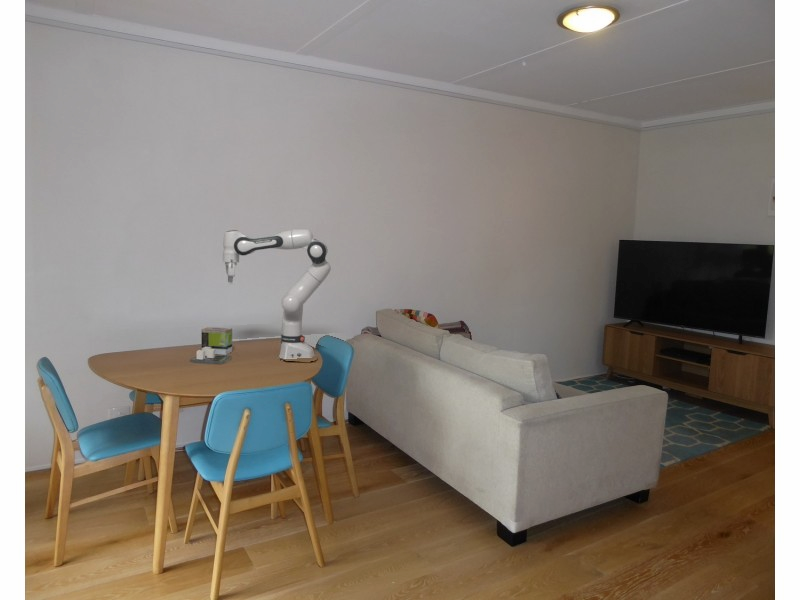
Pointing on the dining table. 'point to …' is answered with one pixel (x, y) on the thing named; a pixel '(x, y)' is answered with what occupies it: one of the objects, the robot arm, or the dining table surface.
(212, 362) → the panel
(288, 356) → the robot arm
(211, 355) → the block
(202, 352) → the breaker
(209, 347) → the block
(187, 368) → the dining table surface
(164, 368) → the dining table surface
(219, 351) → the tea box
